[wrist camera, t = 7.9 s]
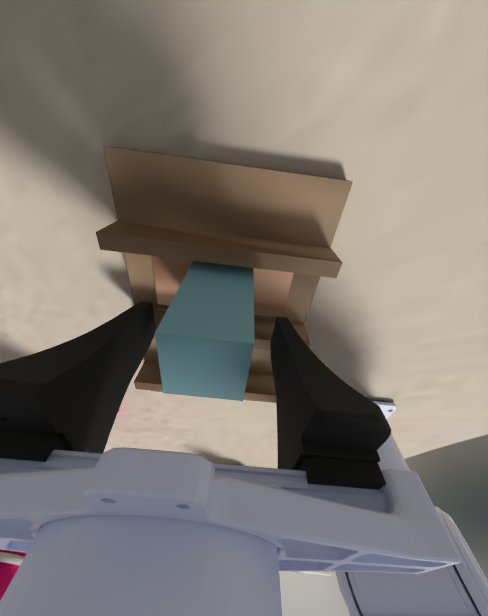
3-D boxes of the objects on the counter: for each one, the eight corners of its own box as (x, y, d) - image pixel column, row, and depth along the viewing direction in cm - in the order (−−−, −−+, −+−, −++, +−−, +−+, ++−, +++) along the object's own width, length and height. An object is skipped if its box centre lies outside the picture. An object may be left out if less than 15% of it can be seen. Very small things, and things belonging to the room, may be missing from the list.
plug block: (246, 309, 18) (242, 400, 11) (195, 304, 18) (163, 393, 11) (253, 263, 16) (254, 343, 9) (195, 256, 16) (155, 332, 9)
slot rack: (275, 395, 26) (278, 425, 23) (154, 383, 26) (141, 412, 23) (346, 179, 14) (371, 187, 11) (112, 147, 13) (73, 145, 10)
